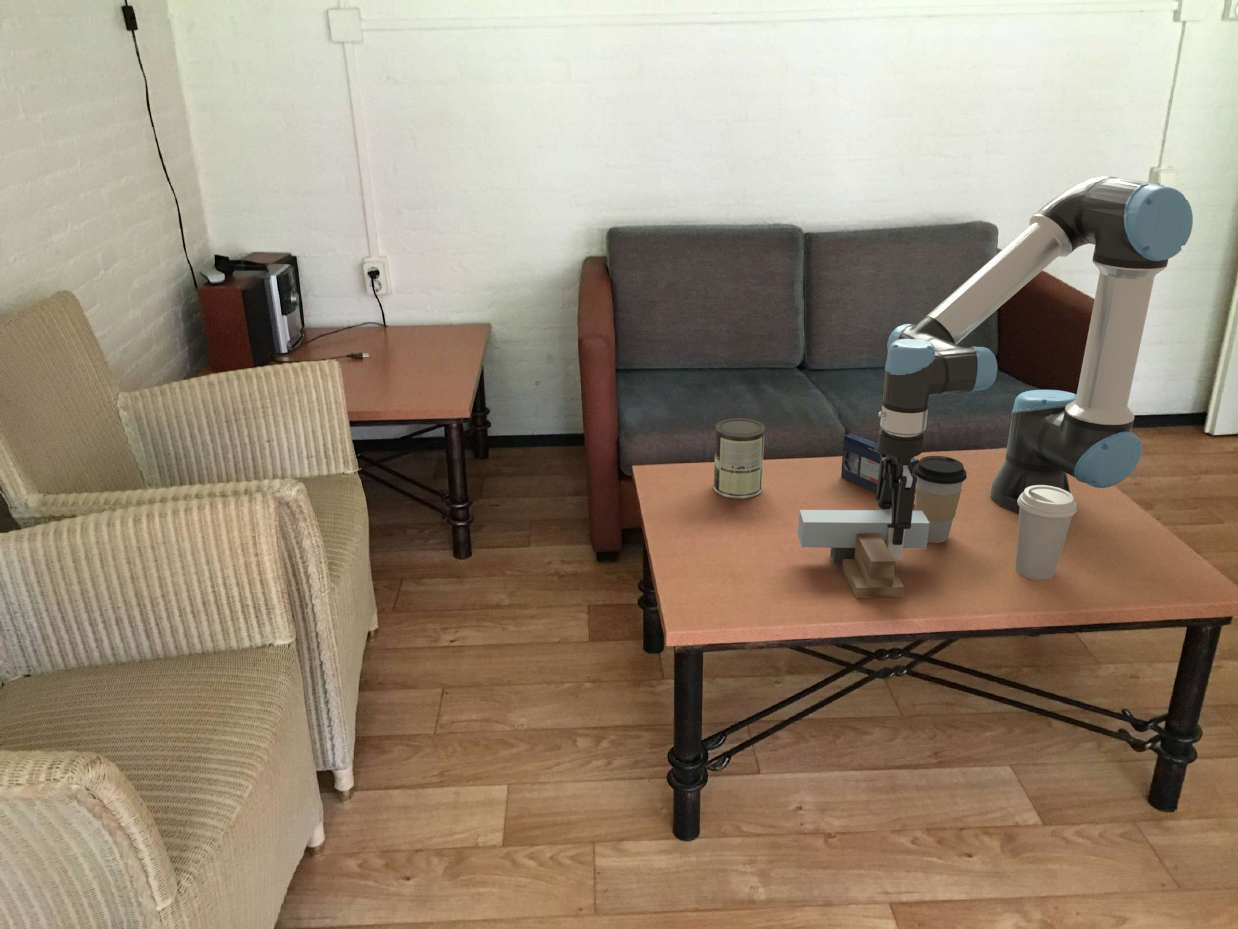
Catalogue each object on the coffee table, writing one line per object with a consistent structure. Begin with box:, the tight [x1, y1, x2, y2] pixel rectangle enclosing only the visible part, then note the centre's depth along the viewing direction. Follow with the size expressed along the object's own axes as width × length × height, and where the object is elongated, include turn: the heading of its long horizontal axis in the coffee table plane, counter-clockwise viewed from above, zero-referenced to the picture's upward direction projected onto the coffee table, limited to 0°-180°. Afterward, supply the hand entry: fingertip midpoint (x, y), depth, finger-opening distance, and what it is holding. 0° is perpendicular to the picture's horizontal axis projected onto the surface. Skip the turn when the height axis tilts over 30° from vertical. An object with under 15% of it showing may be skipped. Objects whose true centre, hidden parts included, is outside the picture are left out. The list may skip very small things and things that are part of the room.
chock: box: [829, 548, 855, 565], centre depth 178 cm, size 10×3×4 cm, turn 91°
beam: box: [797, 509, 930, 549], centre depth 175 cm, size 22×5×5 cm, turn 88°
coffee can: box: [713, 417, 766, 500], centre depth 204 cm, size 10×10×14 cm
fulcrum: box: [841, 534, 905, 599], centre depth 169 cm, size 8×10×7 cm
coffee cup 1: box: [914, 455, 968, 544], centre depth 184 cm, size 9×9×15 cm
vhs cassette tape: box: [840, 433, 920, 505], centre depth 204 cm, size 18×3×10 cm, turn 33°
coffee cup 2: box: [1015, 485, 1078, 581], centre depth 171 cm, size 10×10×15 cm
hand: (888, 550), depth 177 cm, fingers open, 6 cm apart
